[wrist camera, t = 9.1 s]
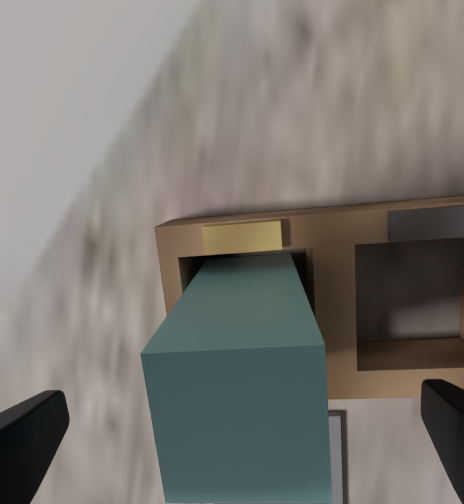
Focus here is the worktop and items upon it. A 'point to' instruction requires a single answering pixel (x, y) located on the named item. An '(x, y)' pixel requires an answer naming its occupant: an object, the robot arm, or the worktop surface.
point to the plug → (241, 388)
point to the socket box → (333, 282)
